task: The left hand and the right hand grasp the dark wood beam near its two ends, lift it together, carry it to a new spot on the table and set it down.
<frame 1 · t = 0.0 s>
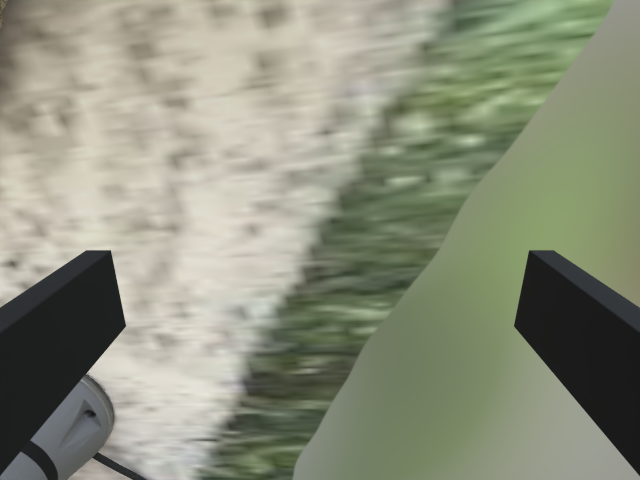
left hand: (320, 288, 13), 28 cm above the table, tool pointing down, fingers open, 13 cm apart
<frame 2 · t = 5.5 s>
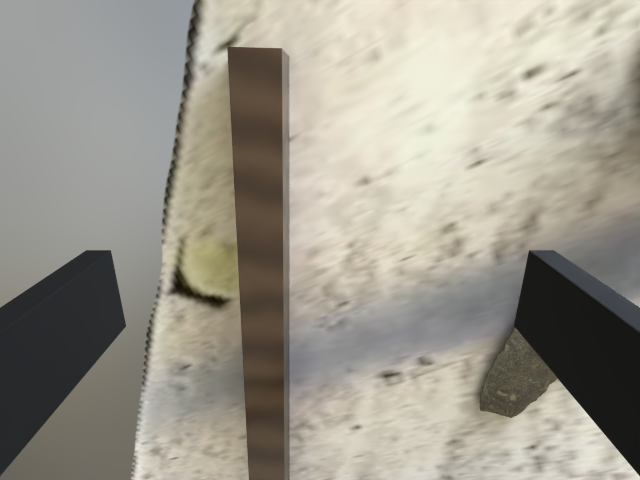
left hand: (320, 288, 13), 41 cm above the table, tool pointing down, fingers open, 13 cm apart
stone tool: (529, 350, 62), on the table
beam: (271, 312, 60), on the table
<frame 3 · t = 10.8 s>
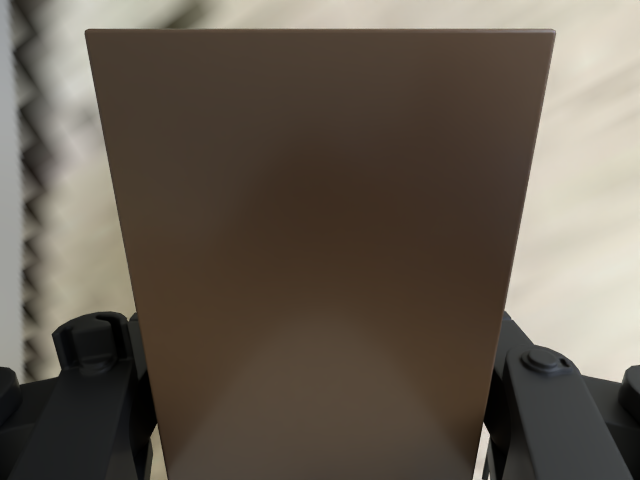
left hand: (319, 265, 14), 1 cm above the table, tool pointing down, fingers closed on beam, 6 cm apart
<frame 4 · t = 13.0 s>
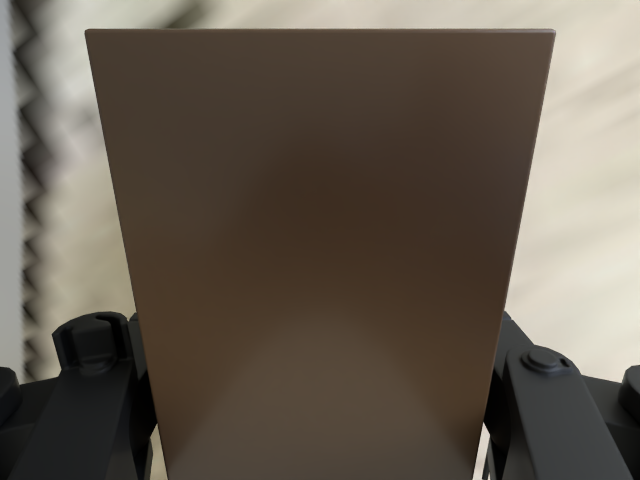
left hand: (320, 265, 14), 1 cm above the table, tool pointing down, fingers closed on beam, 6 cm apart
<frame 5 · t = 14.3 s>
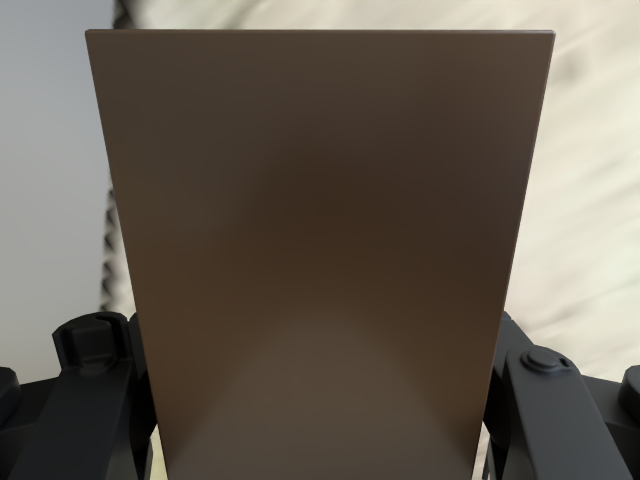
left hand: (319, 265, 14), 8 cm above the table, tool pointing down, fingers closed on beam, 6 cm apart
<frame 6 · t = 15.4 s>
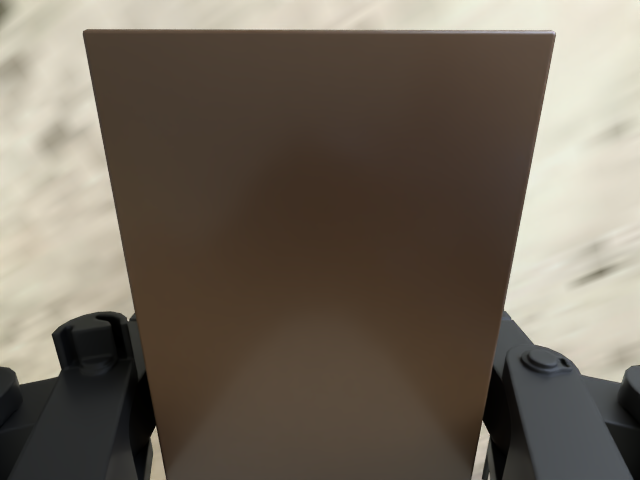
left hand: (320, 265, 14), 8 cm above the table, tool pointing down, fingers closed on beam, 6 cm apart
when the left hand's fingers open (1 cm above the table, at t = 18.0 s): beam stays where it is, on the table.
when the right hand's fingers open (1 cm above the table, at t = 18.0 s): beam stays where it is, on the table.
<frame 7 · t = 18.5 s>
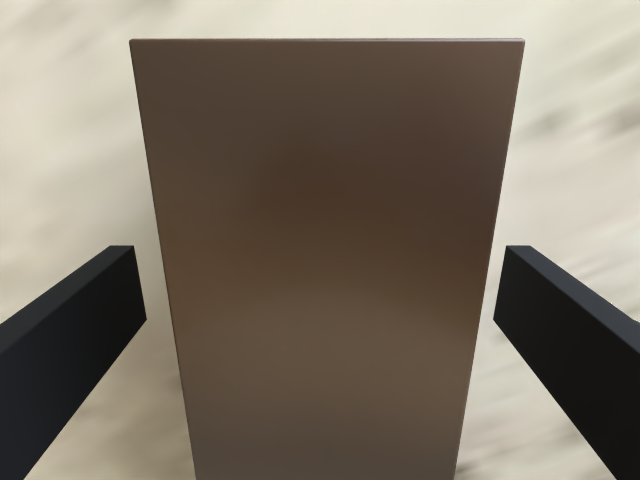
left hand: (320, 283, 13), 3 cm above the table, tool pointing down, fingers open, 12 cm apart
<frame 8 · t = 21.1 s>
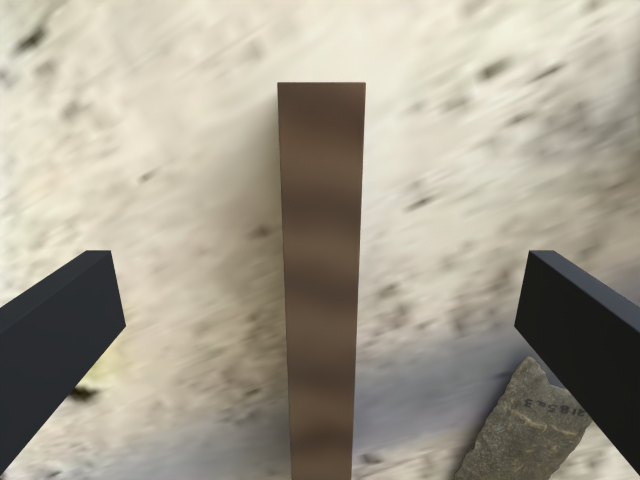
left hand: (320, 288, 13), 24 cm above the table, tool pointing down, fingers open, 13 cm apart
stone tool: (509, 443, 46), on the table
beam: (321, 420, 45), on the table
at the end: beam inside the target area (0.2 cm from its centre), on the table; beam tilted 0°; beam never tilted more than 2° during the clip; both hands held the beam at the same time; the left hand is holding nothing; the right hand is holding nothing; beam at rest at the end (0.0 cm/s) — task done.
